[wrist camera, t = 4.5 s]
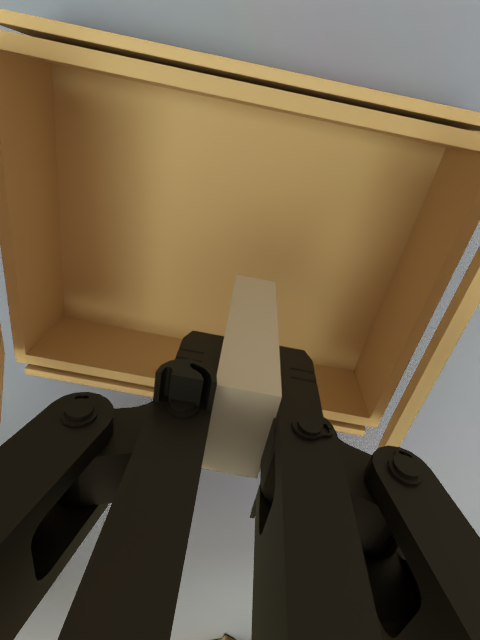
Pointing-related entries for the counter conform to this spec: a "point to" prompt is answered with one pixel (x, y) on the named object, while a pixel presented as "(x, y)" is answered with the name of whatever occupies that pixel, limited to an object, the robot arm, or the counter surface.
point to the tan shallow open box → (220, 210)
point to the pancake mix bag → (226, 638)
